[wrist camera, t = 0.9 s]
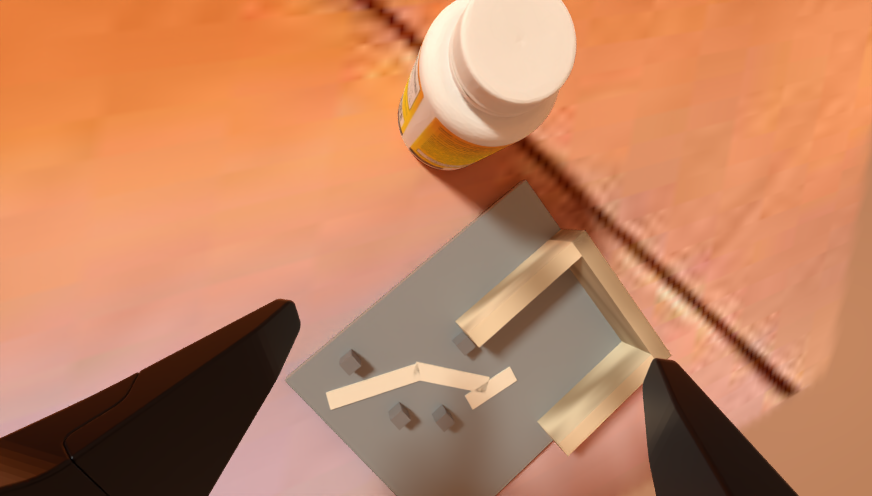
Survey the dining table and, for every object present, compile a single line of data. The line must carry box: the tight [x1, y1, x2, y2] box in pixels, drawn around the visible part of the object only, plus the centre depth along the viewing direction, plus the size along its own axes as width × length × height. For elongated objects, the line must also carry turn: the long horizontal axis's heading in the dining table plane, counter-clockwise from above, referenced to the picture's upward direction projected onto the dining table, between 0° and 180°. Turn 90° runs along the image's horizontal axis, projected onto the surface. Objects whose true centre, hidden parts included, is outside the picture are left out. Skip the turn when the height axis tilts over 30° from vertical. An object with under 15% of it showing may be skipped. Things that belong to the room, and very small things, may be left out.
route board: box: [285, 180, 622, 496], centre depth 23 cm, size 18×14×2 cm
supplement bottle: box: [398, 0, 576, 170], centre depth 17 cm, size 6×6×10 cm
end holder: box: [455, 229, 671, 456], centre depth 22 cm, size 8×10×2 cm
